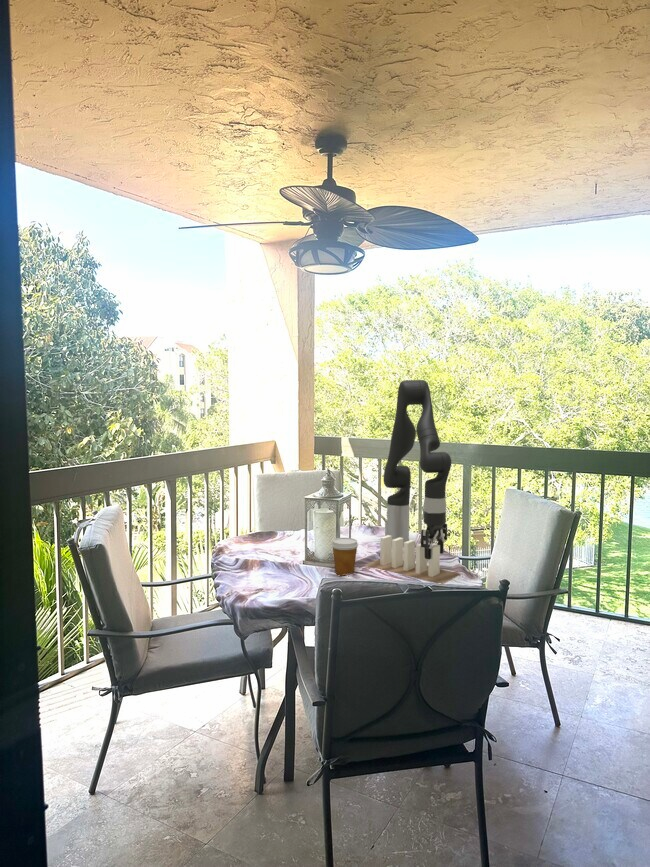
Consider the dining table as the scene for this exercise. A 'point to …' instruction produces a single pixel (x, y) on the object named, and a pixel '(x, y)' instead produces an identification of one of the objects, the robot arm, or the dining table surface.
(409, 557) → the domino
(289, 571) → the dining table surface
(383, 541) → the domino
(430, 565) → the domino
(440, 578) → the walnut board
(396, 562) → the domino
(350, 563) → the disposable coffee cup
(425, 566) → the domino
